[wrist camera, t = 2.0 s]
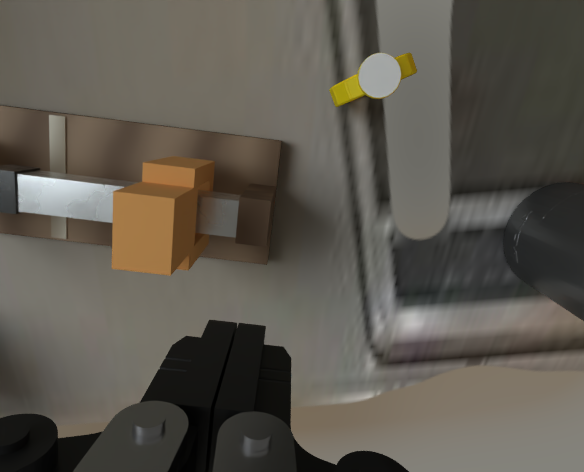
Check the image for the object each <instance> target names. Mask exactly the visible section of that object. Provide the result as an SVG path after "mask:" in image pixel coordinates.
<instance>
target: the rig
mask: <svg viewBox="0 0 584 472" xmlns="http://www.w3.org/2000/svg"><path fill="white" fill-rule="evenodd" d="M281 143H282V141H280V140H272V139H264V138H256V137H248V136H240V135H232V134H224V133H216V132H208V131H200V130H192V129H184V128H176V127H168V126H160V125H153V124H145V123H137V122H129V121H121V120H113V119H105V118H97V117H89V116H81V115H73V114H65V113H57V112H49V111H41V110H33V109H25V108H18V107H10V106H2V105H0V165H9V164H12V165H20V166H29V167H37V168H40V171H49V172H57V173H65V174H73V175H81V176H89V177H98V178H106V179H114V180H122V181H130V182H138V183H139V182H142V172H143V162H147V161H152V160H157V159H161V158H166V157H171V156H178V157H186V158H194V159H202V160H210V161H215V167H214V180H213V192H220V193H228V194H236V195H241V196H240V197H239V206H238V217H237V228H236V238H235V237H226V236H218V235H210V234H209V244H208V245H207V247H206V248H205V249H204V251H203V252H202V253H201V254H200V256H199V257H207V258H216V259H224V260H233V261H241V262H250V263H258V264H266V265H267V263H268V257H269V248H270V240H271V231H272V222H273V213H274V205H275V196H276V187H277V178H278V169H279V161H280V152H281ZM112 227H113V223H110V222H101V221H93V220H85V219H76V218H68V217H60V216H51V215H43V214H35V213H26V212H22V213H18V214H10V213H2V212H0V233H5V234H13V235H22V236H30V237H39V238H47V239H55V240H64V241H72V242H81V243H89V244H98V245H106V246H112Z"/></svg>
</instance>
